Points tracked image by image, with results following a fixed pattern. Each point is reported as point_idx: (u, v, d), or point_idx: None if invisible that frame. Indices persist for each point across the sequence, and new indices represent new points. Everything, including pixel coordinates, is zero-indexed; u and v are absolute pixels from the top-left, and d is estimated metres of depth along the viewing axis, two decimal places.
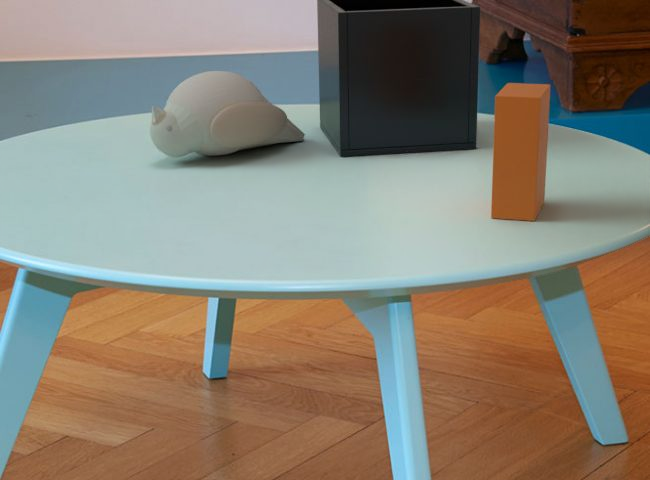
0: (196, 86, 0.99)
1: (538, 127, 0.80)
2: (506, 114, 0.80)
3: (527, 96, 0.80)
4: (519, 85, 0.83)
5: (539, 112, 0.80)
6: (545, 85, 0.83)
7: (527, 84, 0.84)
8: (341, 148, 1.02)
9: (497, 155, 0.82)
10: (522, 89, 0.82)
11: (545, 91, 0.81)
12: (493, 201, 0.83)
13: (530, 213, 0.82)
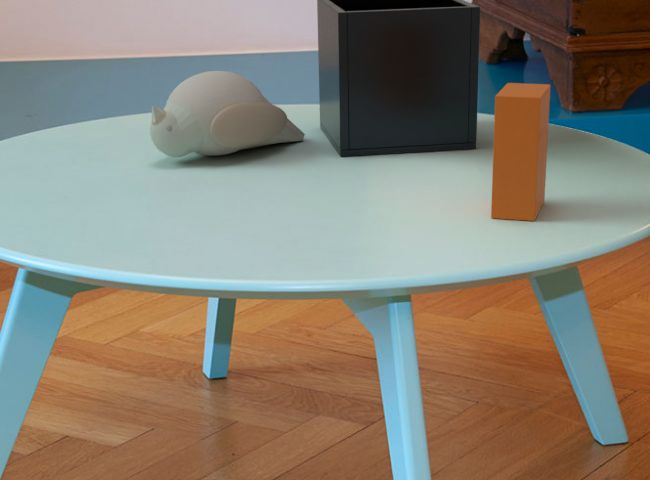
0: (196, 86, 0.99)
1: (538, 127, 0.80)
2: (506, 114, 0.80)
3: (527, 96, 0.80)
4: (519, 85, 0.83)
5: (539, 112, 0.80)
6: (545, 85, 0.83)
7: (527, 84, 0.84)
8: (341, 148, 1.02)
9: (497, 155, 0.82)
10: (522, 89, 0.82)
11: (545, 91, 0.81)
12: (493, 201, 0.83)
13: (530, 213, 0.82)
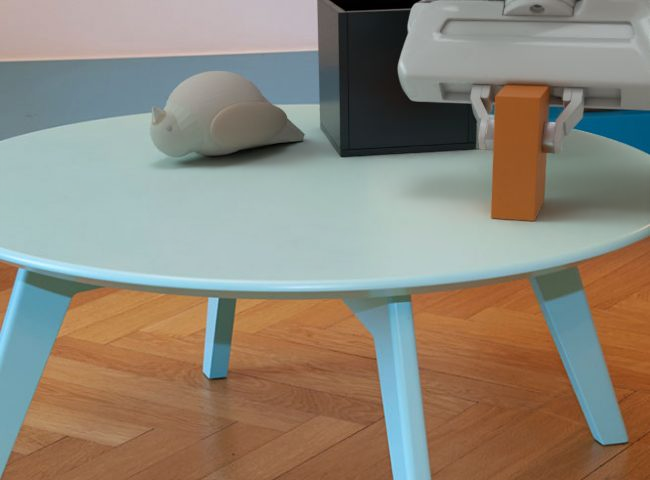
0: (196, 86, 0.99)
1: (538, 127, 0.80)
2: (506, 114, 0.80)
3: (527, 96, 0.80)
4: (519, 85, 0.83)
5: (539, 112, 0.80)
6: None
7: None
8: (341, 148, 1.02)
9: (497, 155, 0.82)
10: (522, 89, 0.82)
11: (545, 91, 0.81)
12: (493, 201, 0.83)
13: (530, 213, 0.82)
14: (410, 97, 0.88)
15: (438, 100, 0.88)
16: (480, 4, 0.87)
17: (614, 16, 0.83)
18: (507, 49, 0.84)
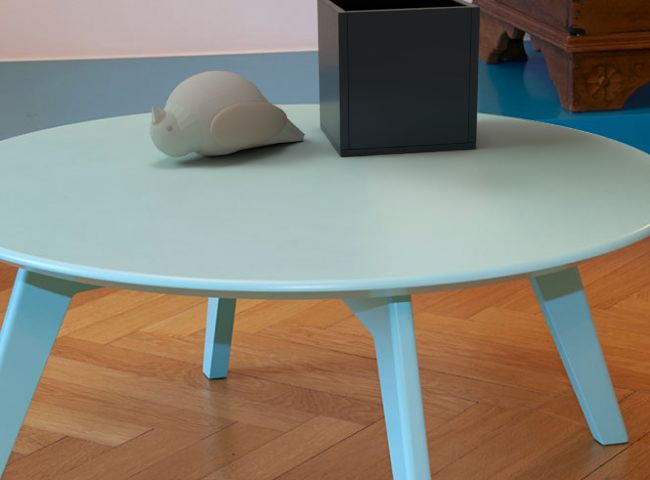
0: (196, 86, 0.99)
1: None
2: None
3: None
4: None
5: None
6: None
7: None
8: (341, 148, 1.02)
9: None
10: None
11: None
12: None
13: None
14: None
15: None
16: None
17: None
18: None
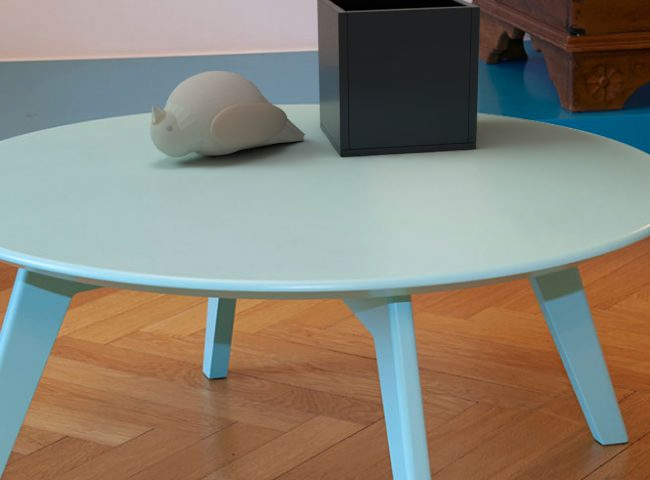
0: (196, 86, 0.99)
1: None
2: None
3: None
4: None
5: None
6: None
7: None
8: (341, 148, 1.02)
9: None
10: None
11: None
12: None
13: None
14: None
15: None
16: None
17: None
18: None
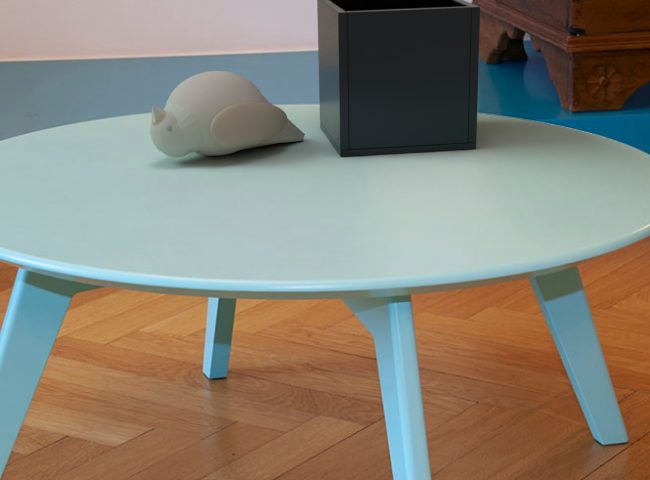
0: (196, 86, 0.99)
1: None
2: None
3: None
4: None
5: None
6: None
7: None
8: (341, 148, 1.02)
9: None
10: None
11: None
12: None
13: None
14: None
15: None
16: None
17: None
18: None
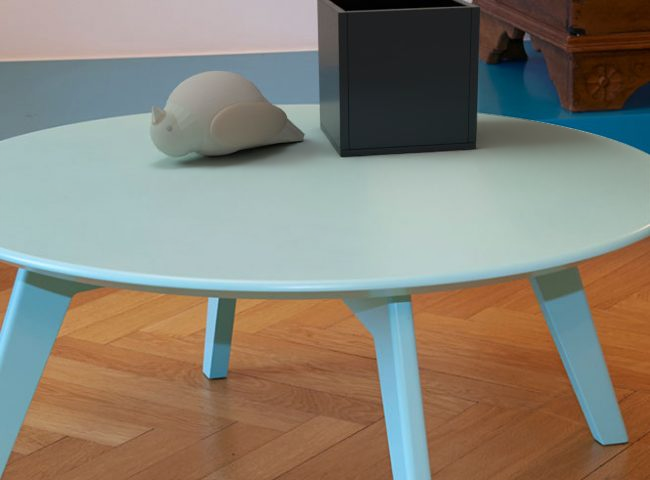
0: (196, 86, 0.99)
1: None
2: None
3: None
4: None
5: None
6: None
7: None
8: (341, 148, 1.02)
9: None
10: None
11: None
12: None
13: None
14: None
15: None
16: None
17: None
18: None
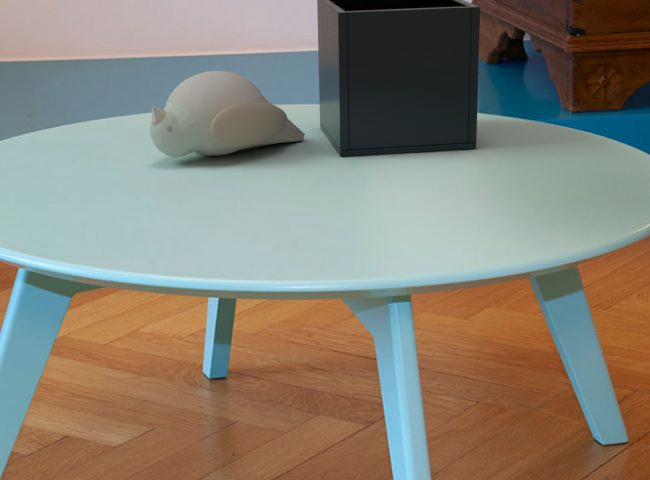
0: (196, 86, 0.99)
1: None
2: None
3: None
4: None
5: None
6: None
7: None
8: (341, 148, 1.02)
9: None
10: None
11: None
12: None
13: None
14: None
15: None
16: None
17: None
18: None
